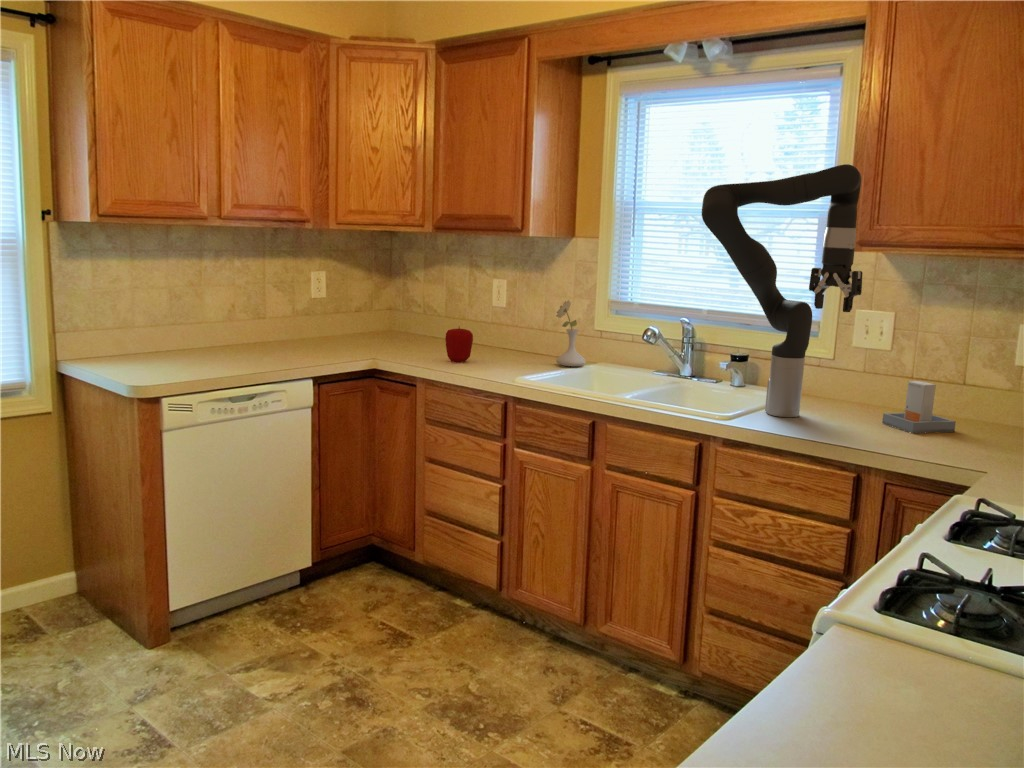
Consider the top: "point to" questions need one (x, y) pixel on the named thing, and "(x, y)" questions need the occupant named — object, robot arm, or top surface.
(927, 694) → the top surface
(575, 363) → the flower in vase
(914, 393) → the skincare box
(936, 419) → the tray
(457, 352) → the apple
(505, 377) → the top surface
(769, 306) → the robot arm
